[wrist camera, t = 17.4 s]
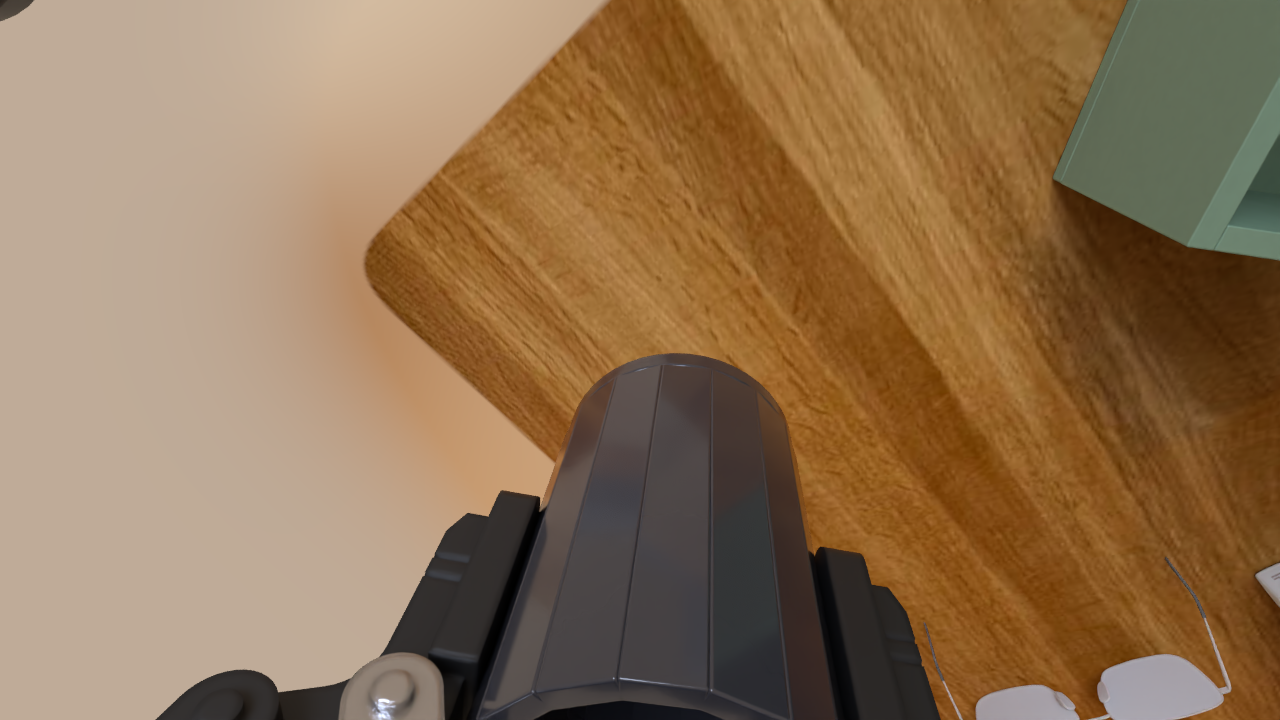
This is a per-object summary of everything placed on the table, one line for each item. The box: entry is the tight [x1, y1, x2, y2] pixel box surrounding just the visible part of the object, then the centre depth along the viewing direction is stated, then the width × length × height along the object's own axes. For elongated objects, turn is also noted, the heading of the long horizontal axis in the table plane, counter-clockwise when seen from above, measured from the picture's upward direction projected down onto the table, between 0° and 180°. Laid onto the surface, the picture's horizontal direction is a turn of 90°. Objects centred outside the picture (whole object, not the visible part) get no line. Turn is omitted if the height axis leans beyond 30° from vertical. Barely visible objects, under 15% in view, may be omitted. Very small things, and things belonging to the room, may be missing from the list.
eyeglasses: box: [924, 557, 1231, 720], centre depth 38 cm, size 14×8×4 cm, turn 119°
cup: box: [466, 353, 845, 720], centre depth 12 cm, size 5×5×8 cm
